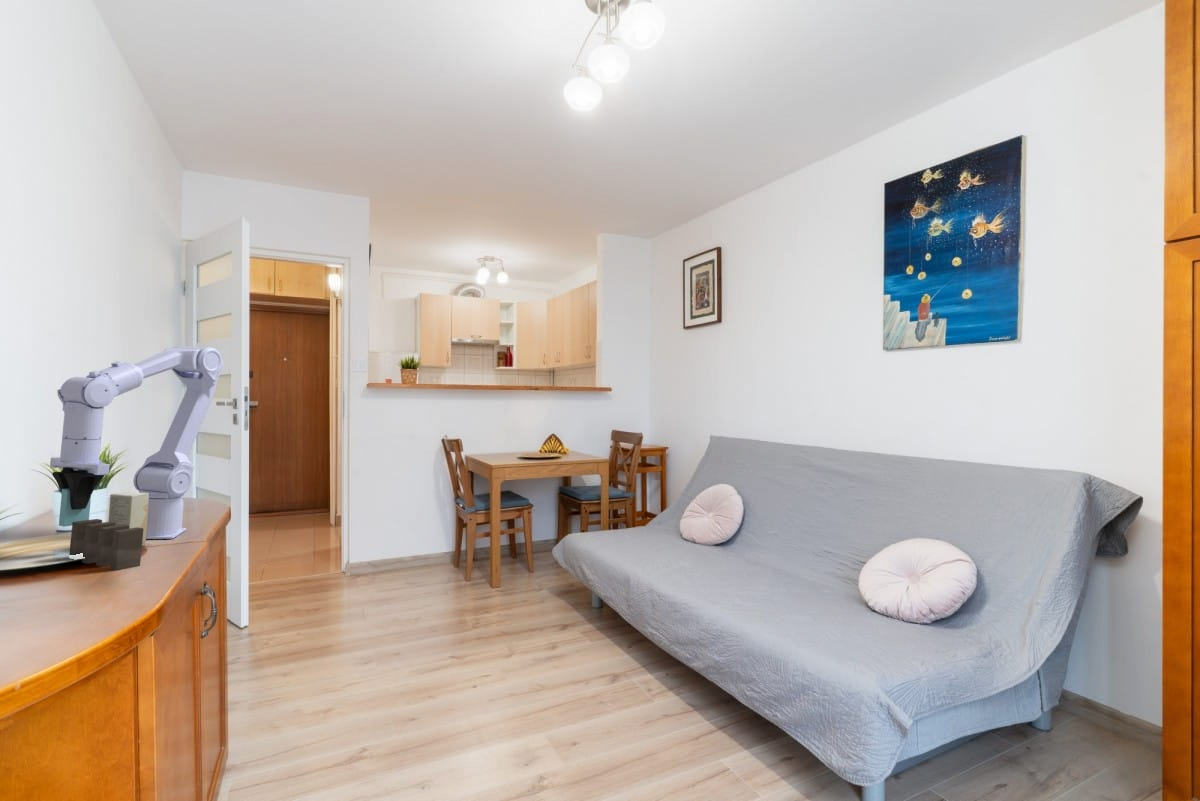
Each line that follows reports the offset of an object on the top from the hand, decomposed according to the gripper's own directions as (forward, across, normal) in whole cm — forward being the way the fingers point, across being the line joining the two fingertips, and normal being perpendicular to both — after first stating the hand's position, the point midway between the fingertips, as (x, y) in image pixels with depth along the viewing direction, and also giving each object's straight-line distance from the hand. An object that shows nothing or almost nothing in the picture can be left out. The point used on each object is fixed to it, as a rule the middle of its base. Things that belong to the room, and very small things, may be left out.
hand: (75, 508), depth 111 cm
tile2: (+9, +4, 0) cm, 10 cm away
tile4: (+9, +12, 0) cm, 15 cm away
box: (+9, +1, +9) cm, 13 cm away
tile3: (+9, +8, 0) cm, 12 cm away
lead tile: (+3, 0, 0) cm, 3 cm away
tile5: (+9, +16, 0) cm, 18 cm away
